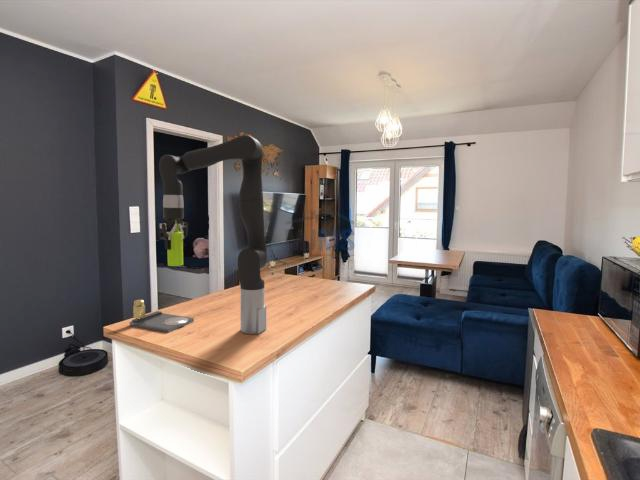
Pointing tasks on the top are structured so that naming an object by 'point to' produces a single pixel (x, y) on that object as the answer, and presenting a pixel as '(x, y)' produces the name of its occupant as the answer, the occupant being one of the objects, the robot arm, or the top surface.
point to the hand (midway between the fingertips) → (174, 248)
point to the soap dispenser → (176, 248)
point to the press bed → (161, 321)
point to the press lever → (139, 309)
